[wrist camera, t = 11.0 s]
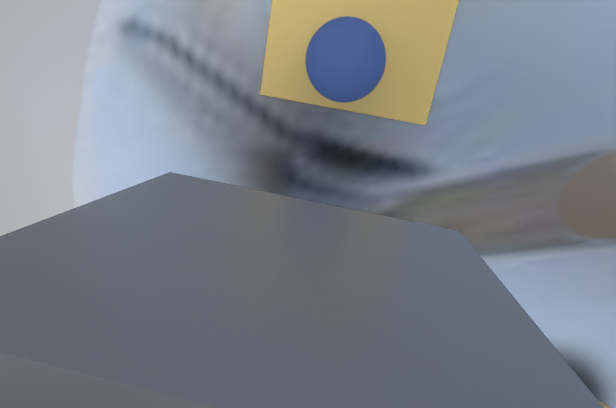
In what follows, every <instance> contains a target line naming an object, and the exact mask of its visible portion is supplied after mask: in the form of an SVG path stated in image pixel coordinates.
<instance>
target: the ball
mask: <svg viewBox="0 0 616 408" xmlns="http://www.w3.org/2000/svg"><path fill="white" fill-rule="evenodd" d="M385 65H386V51H385V46H384V43H383V40H382V38H381V36H380V35H379V33H378V32H377V30H376V29H375V28H374V27H373V26H372V25H370V24H369V23H368V22H366V21H364V20H362V19H360V18H356V17H349V16H345V17H338V18H335V19H332V20H330V21H328V22H327V23H325V24H324V25H322V26H321V27H320V28H319V29H318V30H317V31H316V32H315V34H314V35H313V37H312V38H311V40H310V42H309V45H308V48H307V52H306V70H307V74H308V77H309V80H310V82H311V83H312V85H313V86H314V88H315V89H316V90H317V91H318V92H319V93H320V94H321V95H322V96H324V97H325V98H327V99H330V100H332V101H335V102H342V103H346V102H353V101H356V100H359V99H361V98H363V97H365V96H367V95H368V94H369V93H370V92H372V91H373V90H374V88H375V87H376V86H377V85H378V83H379V82H380V80H381V78H382V76H383V73H384V70H385Z"/></svg>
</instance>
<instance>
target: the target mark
mask: <svg viewBox="0 0 616 408" xmlns="http://www.w3.org/2000/svg"><path fill="white" fill-rule="evenodd" d="M458 2H459V0H272V6H271V13H270V21H269V29H268V36H267V44H266V51H265V59H264V67H263V74H262V82H261V90H260V95H265V96H271V97H276V98H281V99H287V100H292V101H298V102H303V103H308V104H314V105H319V106H325V107H330V108H335V109H341V110H346V111H351V112H357V113H362V114H368V115H373V116H378V117H384V118H389V119H394V120H400V121H405V122H411V123H416V124H421V125H426V122H427V119H428V115H429V111H430V107H431V104H432V100H433V96H434V92H435V89H436V85H437V81H438V77H439V74H440V70H441V66H442V62H443V59H444V55H445V51H446V47H447V44H448V40H449V36H450V32H451V29H452V25H453V21H454V17H455V14H456V10H457V6H458ZM345 16H349V17H356V18H360V19H362V20H364V21H366V22H368V23H369V24H370V25H372V26H373V27H374V28H375V29H376V30H377V32H378V33H379V35H380V36H381V38H382V40H383V43H384V46H385V51H386V65H385V70H384V73H383V76H382V78H381V80H380V82H379V83H378V85H377V86H376V87H375V88H374V90H373V91H372V92H370V93H369V94H368V95H367V96H365V97H363V98H361V99H359V100H356V101H353V102H346V103H342V102H335V101H332V100H330V99H327V98H325V97H324V96H322V95H321V94H320V93H319V92H318V91H317V90H316V89H315V88H314V86H313V85H312V83H311V82H310V80H309V77H308V74H307V70H306V52H307V48H308V45H309V42H310V40H311V38H312V37H313V35H314V34H315V32H316V31H317V30H318V29H319V28H320V27H321V26H322V25H324V24H325V23H327V22H328V21H330V20H332V19H335V18H338V17H345Z"/></svg>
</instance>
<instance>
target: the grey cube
mask: <svg viewBox="0 0 616 408" xmlns="http://www.w3.org/2000/svg"><path fill="white" fill-rule="evenodd" d="M0 408H604V407H603V406H602V405H601V403H600V402H599V401H598V400H597V398H596V397H595V396H594V395H593V394H592V392H591V391H590V390H589V389H588V387H587V386H586V385H585V384H584V383H583V381H582V380H581V379H580V378H579V376H578V375H577V374H576V373H575V372H574V370H573V369H572V368H571V367H570V365H569V364H568V363H567V362H566V361H565V359H564V358H563V357H562V356H561V354H560V353H559V352H558V351H557V349H556V348H555V347H554V346H553V345H552V343H551V342H550V341H549V340H548V338H547V337H546V336H545V335H544V334H543V332H542V331H541V330H540V329H539V327H538V326H537V325H536V324H535V323H534V321H533V320H532V319H531V318H530V316H529V315H528V314H527V313H526V312H525V310H524V309H523V308H522V307H521V305H520V304H519V303H518V302H517V301H516V299H515V298H514V297H513V296H512V294H511V293H510V292H509V291H508V290H507V288H506V287H505V286H504V285H503V283H502V282H501V281H500V280H499V279H498V277H497V276H496V275H495V274H494V272H493V271H492V270H491V269H490V268H489V266H488V265H487V264H486V263H485V261H484V260H483V259H482V258H481V257H480V255H479V254H478V253H477V252H476V250H475V249H474V248H473V247H472V246H471V244H470V243H469V242H468V241H467V239H466V238H465V237H464V236H463V235H462V233H461V232H460V231H457V230H452V229H447V228H442V227H437V226H432V225H427V224H422V223H417V222H413V221H408V220H403V219H398V218H393V217H388V216H383V215H378V214H373V213H368V212H363V211H358V210H353V209H349V208H344V207H339V206H334V205H329V204H324V203H319V202H314V201H309V200H304V199H299V198H294V197H289V196H285V195H280V194H275V193H270V192H265V191H260V190H255V189H250V188H245V187H240V186H235V185H230V184H225V183H220V182H216V181H211V180H206V179H201V178H196V177H191V176H186V175H181V174H176V173H171V172H170V173H167V174H164V175H162V176H159V177H156V178H154V179H151V180H148V181H146V182H143V183H140V184H138V185H135V186H132V187H130V188H127V189H124V190H122V191H119V192H117V193H114V194H111V195H109V196H106V197H103V198H101V199H98V200H95V201H93V202H90V203H87V204H85V205H82V206H79V207H77V208H74V209H72V210H69V211H66V212H64V213H61V214H58V215H56V216H53V217H50V218H48V219H45V220H42V221H40V222H37V223H35V224H32V225H29V226H27V227H24V228H21V229H19V230H16V231H13V232H11V233H8V234H6V235H3V236H0Z"/></svg>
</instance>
